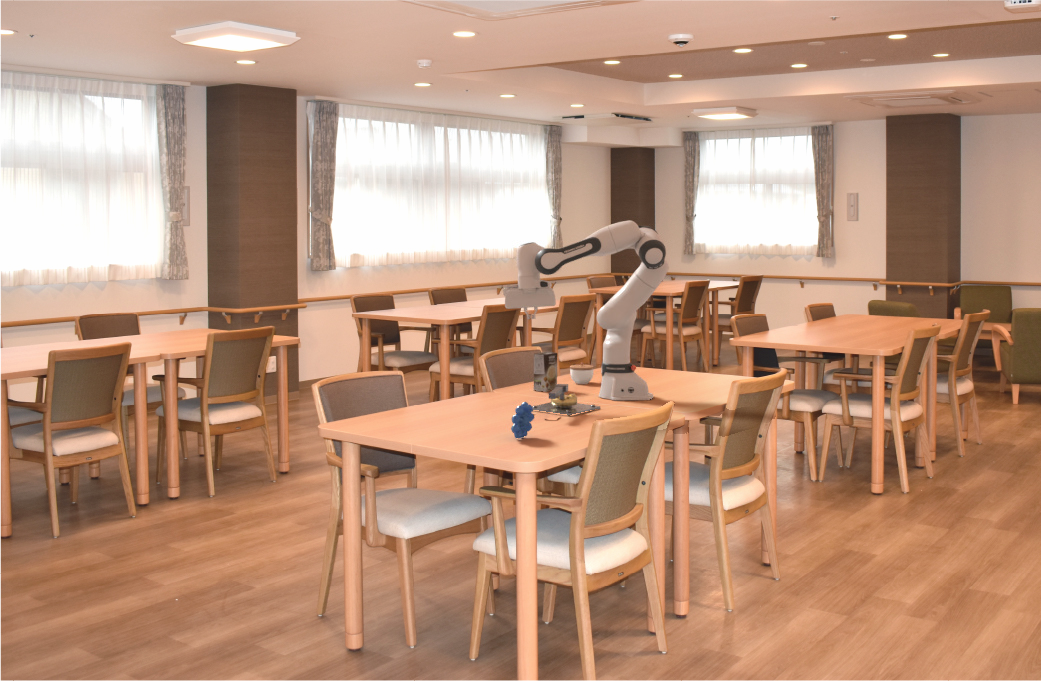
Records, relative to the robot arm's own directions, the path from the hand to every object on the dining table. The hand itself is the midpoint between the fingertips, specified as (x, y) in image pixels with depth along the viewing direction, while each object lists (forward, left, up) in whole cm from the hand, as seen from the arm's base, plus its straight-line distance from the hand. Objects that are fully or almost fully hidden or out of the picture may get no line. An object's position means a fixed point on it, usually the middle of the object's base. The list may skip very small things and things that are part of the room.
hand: (531, 319), depth 383 cm
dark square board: (-14, +15, -33) cm, 39 cm away
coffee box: (-4, -30, -33) cm, 45 cm away
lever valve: (-13, +24, -31) cm, 41 cm away
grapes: (-2, +68, -33) cm, 76 cm away
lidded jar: (-19, -51, -33) cm, 64 cm away
